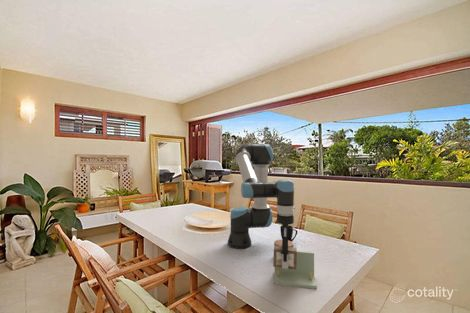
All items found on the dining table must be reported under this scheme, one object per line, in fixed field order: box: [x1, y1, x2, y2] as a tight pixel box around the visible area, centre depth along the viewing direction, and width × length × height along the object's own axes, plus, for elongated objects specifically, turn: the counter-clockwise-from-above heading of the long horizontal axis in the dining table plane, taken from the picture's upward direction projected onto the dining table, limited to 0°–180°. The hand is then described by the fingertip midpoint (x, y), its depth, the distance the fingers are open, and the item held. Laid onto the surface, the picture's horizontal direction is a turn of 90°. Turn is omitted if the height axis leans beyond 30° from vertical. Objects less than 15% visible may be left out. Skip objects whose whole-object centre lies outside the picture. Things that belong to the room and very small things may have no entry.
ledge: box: [273, 250, 318, 290], centre depth 103 cm, size 18×11×11 cm, turn 77°
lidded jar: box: [273, 239, 294, 248], centre depth 128 cm, size 11×11×9 cm
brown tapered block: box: [272, 246, 298, 270], centre depth 104 cm, size 10×4×8 cm, turn 77°
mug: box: [279, 224, 298, 242], centre depth 152 cm, size 8×12×10 cm
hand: (285, 265), depth 103 cm, fingers closed on brown tapered block, 4 cm apart
